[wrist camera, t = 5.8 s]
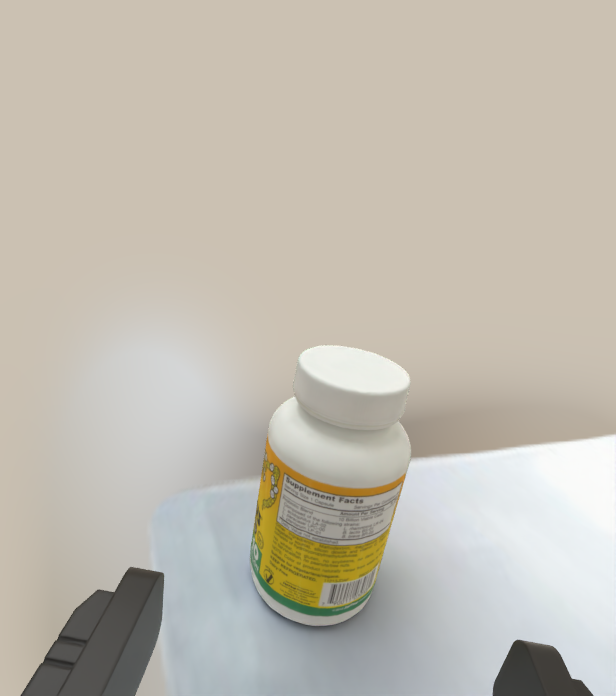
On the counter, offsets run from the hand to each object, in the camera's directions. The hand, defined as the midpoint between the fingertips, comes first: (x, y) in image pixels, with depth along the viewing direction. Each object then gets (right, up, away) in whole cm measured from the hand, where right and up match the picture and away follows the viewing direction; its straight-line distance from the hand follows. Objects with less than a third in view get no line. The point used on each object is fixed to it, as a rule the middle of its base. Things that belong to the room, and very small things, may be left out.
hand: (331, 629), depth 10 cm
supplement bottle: (0, -3, +9) cm, 9 cm away
